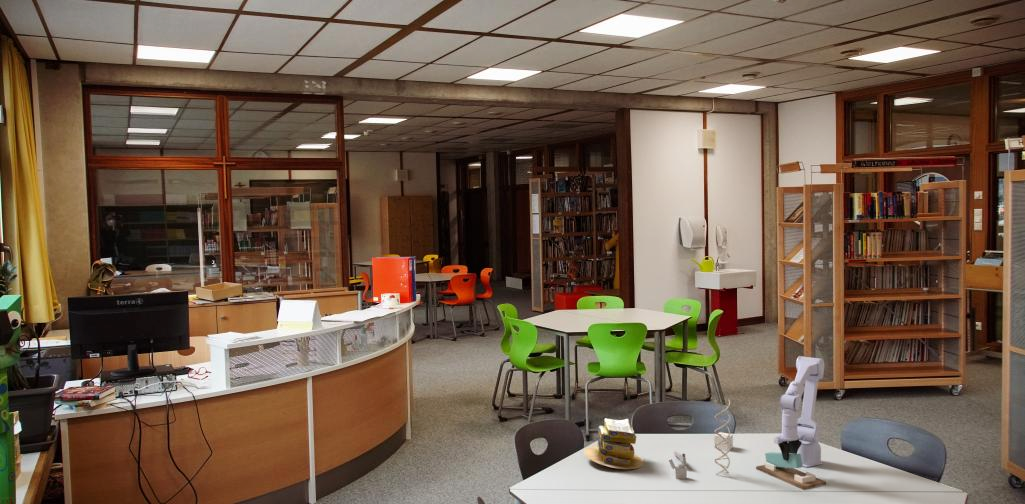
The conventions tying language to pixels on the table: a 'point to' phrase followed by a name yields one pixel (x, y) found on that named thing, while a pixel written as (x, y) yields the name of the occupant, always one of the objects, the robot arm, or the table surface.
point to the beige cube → (724, 446)
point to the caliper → (681, 457)
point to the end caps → (798, 478)
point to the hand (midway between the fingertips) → (789, 459)
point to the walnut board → (791, 476)
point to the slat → (778, 460)
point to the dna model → (723, 437)
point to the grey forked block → (679, 470)
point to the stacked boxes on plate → (615, 446)
